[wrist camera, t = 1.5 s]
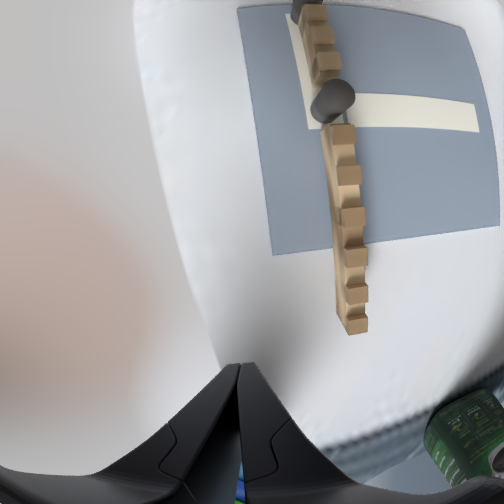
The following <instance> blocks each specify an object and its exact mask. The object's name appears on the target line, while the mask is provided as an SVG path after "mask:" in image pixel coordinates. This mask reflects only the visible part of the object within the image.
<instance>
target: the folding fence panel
mask: <svg viewBox="0 0 504 504" xmlns="http://www.w3.org/2000/svg"><path fill="white" fill-rule="evenodd" d="M320 135H321V141H322V148H323V155H324V162H325V170H326V178H327V186H328V195H329V205H330V215H331V225H332V237H333V251H334V266H335V285H336V311H337V315H338V317H339V319H340V320H341V322H342V324H343V326H344V328H345V330H346V331H347V333H348V335H355V334H360V333H365V332H367V331H368V317H367V316H366V314H365V302H368V285H367V284H366V283H365V267H364V266H367V265H368V252H367V247H366V246H364V242H363V226H366V217H365V207H363V206H361V200H360V190H359V184H363V183H362V174H361V166H360V165H357V164H356V156H355V149H354V144H356V143H357V138H356V131H355V125H351V123H338V124H329V125H328V126H327V127H325V128H324V129H323V130H322V131H321V132H320Z"/></svg>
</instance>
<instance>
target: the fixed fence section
mask: <svg viewBox="0 0 504 504" xmlns="http://www.w3.org/2000/svg"><path fill="white" fill-rule="evenodd" d="M322 1H323V0H293V4H292V10H291V15H290V17H291V20H292V21H293V22H294V23H295V24H297V25H298V26H299V30H300V34H301V38H302V42H303V47H304V51H305V55H306V60H307V64H308V69H309V74H310V79H311V84H312V88H322V89H321V90H320V92H319V93H318V95H317V96H316V98H315V100H314V101H313V103H312V104H311V108H310V111H311V115H312V116H313V118H314V119H315V120H316V121H318V122H320V123H323V124H328V123H331V122H333V121H334V120H335V119H336V118H338V117H339V116H340V115H341V114H342V113H344V112H345V111H346V110H347V109H349V108H350V107H351V106H352V105H353V104H354V102H355V91H354V89H353V88H352V86H351V85H350V84H349V83H348V82H346V81H344V80H342V79H337V78H338V77H339V75H340V74H341V73H340V70H341V69H342V67H343V66H342V62H341V58H340V54H339V52H335V48H334V43H335V41H336V39H335V35H334V32H333V28H332V27H328V23H327V20H328V17H329V15H328V12H327V9H326V6H325V4H322Z"/></svg>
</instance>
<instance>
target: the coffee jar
mask: <svg viewBox="0 0 504 504" xmlns="http://www.w3.org/2000/svg"><path fill="white" fill-rule="evenodd" d="M424 446H425V448H426V450H427V451H428V453H429V455H430V456H431V457H432V459H433V461H434V462H435V463H436V465H437V466H438V467H439V469H440V470H441V472H442V473H443V474H444V476H445V477H446V479H447V480H448V482H449V483H450V485H451V486H452V488H453V487H455V486H457V485H459V484H461V483H463V482H465V481H467V480H469V479H471V478H474V477H477V476H481V475H486V476H493V477H499V478H502V479H504V408H503V407H502V405H501V404H500V402H499V401H498V400H497V398H496V397H495V396H494V395H493V393H492V392H491V391H490V390H489V389H486V388H483V389H479V390H476V391H474V392H472V393H469V394H468V395H465V396H464V397H462V398H460V399H458V400H456V401H454V402H452V403H450V404H449V405H447V406H445V407H444V408H442V409H441V410H440V411H439V412H438V413H437V414H436V415H435V416H434V418H433V419H432V420H431V421H430V423H429V425H428V426H427V428H426V431H425V435H424ZM502 504H504V502H503V503H502Z"/></svg>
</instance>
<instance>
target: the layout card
mask: <svg viewBox="0 0 504 504" xmlns="http://www.w3.org/2000/svg"><path fill="white" fill-rule="evenodd" d="M325 6H326V9H327V12H328V15H329V17H328V20H327V23H328V27H332V28H333V32H334V35H335V39H336V41H335V43H334V48H335V52H339V54H340V58H341V62H342V66H343V67H342V69H341V70H340V73H341V74H340V75H339V77H338V78H337V79H342V80H344V81H346V82H348V83H349V84H350V85H351V86H352V88H353V89H354V91H355V102H354V104H353V105H352V106H351V107H350V108H349V109H347V110H346V111H345V112H344V113H342V114H341V115H340V116H339V117H338V118H336V119H335V120H334V121H333V122H331V123H328V124H323V123H320V122H318V121H316V120H315V119H314V118H313V116H312V115H311V111H310V108H311V104H312V103H313V101H314V100H315V98H316V96H317V95H318V93H319V92H320V90H321V89H322V88H312V84H311V79H310V74H309V69H308V64H307V60H306V55H305V51H304V47H303V42H302V38H301V34H300V30H299V26H298V25H297V24H295V23H294V22H293V21H292V20H291V17H290V15H291V10H292V4H286V5H268V6H257V7H247V8H239V9H237V13H238V19H239V25H240V31H241V37H242V43H243V49H244V55H245V61H246V68H247V74H248V80H249V87H250V93H251V100H252V106H253V113H254V120H255V126H256V133H257V140H258V147H259V154H260V161H261V168H262V176H263V183H264V190H265V198H266V205H267V213H268V221H269V229H270V237H271V245H272V253H273V256H274V255H282V254H290V253H298V252H306V251H313V250H321V249H329V248H333V237H332V225H331V215H330V205H329V195H328V186H327V178H326V170H325V162H324V155H323V148H322V141H321V135H320V132H321V131H322V130H323V129H324V128H325V127H327V126H328V125H329V124H338V123H351V125H355V131H356V138H357V143H356V144H354V149H355V156H356V164H357V165H360V166H361V174H362V183H363V184H359V190H360V200H361V206H363V207H365V217H366V226H363V242H364V244H367V243H375V242H383V241H390V240H398V239H405V238H413V237H420V236H427V235H435V234H442V233H449V232H457V231H464V230H471V229H479V228H486V227H493V226H500V197H499V178H498V166H497V157H496V149H495V141H494V135H493V129H492V123H491V118H490V113H489V108H488V104H487V99H486V95H485V91H484V87H483V83H482V80H481V76H480V73H479V70H478V66H477V63H476V60H475V57H474V54H473V51H472V48H471V46H470V43H469V40H468V38H467V35H466V32H465V30H464V29H462V28H459V27H455V26H452V25H449V24H446V23H442V22H439V21H435V20H431V19H427V18H423V17H419V16H414V15H410V14H405V13H399V12H394V11H388V10H381V9H374V8H366V7H357V6H346V5H328V4H325Z"/></svg>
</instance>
